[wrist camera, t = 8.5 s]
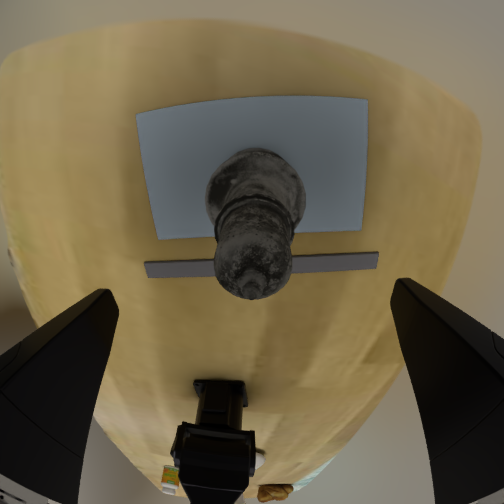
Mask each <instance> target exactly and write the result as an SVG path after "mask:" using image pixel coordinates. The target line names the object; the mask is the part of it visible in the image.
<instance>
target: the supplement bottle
mask: <svg viewBox="0 0 504 504" xmlns="http://www.w3.org/2000/svg"><path fill="white" fill-rule="evenodd" d="M178 472H179V468H176V467H173V466H164V470H163V475H162V481H161V485H162V486H163V489H162V492H164V493H167V494H172V495H175V489H178V487H179V481H180V480H179V478H178Z"/></svg>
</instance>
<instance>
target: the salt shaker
mask: <svg viewBox="0 0 504 504" xmlns="http://www.w3.org/2000/svg"><path fill="white" fill-rule="evenodd" d="M205 206H206V212H207V214H208V216H209V219H210V221H211V223H212V224H213V225H214V233H215V239H216V241H217V244H218V245H217V249H216V252H215V257H214V270H215V276H216V278H217V280H218V281H219V283H220V284H221V285H222V286H223V288H224V289H225V290H227V291H228V292H230V293H231V294H233V295H235V296H237V297H240V298H244V299H250V300H254V299H262V298H266V297H268V296H271V295H273V294H275V293H276V292H278V291H279V290H280V289H282V288H283V287H284V286H285V284H286V283H287V281H288V280H289V277H290V275H291V271H292V254H291V249H290V245H291V244H292V241H293V238H294V231H295V229H296V228H297V226H298V224H299V223H300V221H301V220H302V218H303V214H304V211H305V208H306V192H305V189H304V185H303V182H302V180H301V178H300V177H299V175H298V173H297V172H296V170H295V169H294V168H293V167H292V166H290V165H289V164H288V163H287V162H286V161H285V160H284V159H283V158H282V157H281V156H279V155H278V154H276V153H274V152H272V151H270V150H268V149H263V148H248V149H245V150H242V151H239V152H237V153H236V154H234V155H233V156H231V157H230V158H229V159H228V160H227V161H225V162H224V163H222V164H221V165H220V166H219V167H218V168H217V169H216V170H215V172H214V173H213V174H212V175H211V178H210V180H209V182H208V184H207V187H206V193H205Z"/></svg>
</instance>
